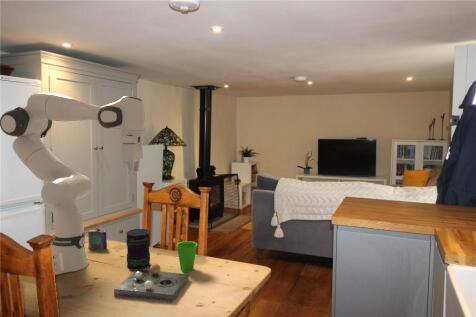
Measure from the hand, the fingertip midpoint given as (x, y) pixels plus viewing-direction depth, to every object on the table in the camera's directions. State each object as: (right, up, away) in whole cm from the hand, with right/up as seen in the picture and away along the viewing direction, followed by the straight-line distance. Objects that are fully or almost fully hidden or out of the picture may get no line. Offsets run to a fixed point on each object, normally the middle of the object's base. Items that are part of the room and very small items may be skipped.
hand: (133, 172), depth 145 cm
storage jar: (-2, -41, +14) cm, 44 cm away
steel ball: (+4, -39, -7) cm, 40 cm away
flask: (-27, -39, +35) cm, 59 cm away
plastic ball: (+9, -40, -14) cm, 43 cm away
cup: (+20, -42, +10) cm, 47 cm away
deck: (+10, -43, -7) cm, 45 cm away
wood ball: (+9, -38, -1) cm, 39 cm away
